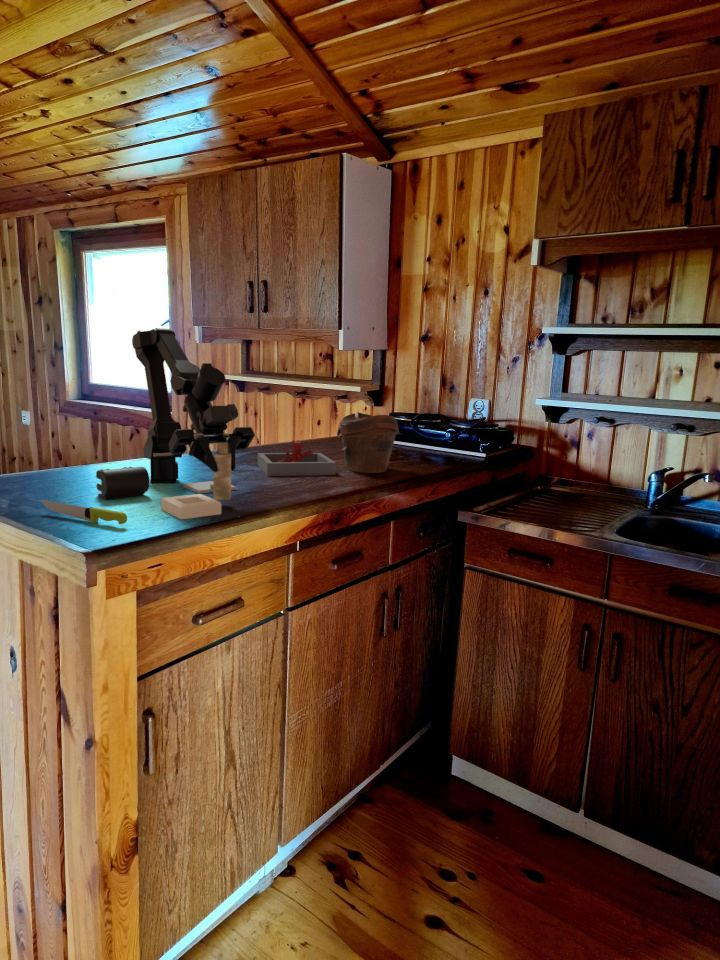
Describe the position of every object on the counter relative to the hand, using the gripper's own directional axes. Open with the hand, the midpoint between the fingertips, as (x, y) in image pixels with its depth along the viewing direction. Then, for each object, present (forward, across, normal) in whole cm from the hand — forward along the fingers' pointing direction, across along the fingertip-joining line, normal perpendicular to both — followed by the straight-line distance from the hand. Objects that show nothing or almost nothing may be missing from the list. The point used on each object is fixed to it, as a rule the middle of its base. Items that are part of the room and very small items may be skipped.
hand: (225, 470), depth 137 cm
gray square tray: (-17, +40, +29) cm, 53 cm away
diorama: (-18, +40, +29) cm, 53 cm away
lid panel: (-8, +6, +20) cm, 23 cm away
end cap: (-9, -15, +21) cm, 27 cm away
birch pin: (+4, 0, +6) cm, 7 cm away
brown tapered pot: (-11, +60, +23) cm, 66 cm away
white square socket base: (+6, -8, +6) cm, 12 cm away
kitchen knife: (+3, -29, +9) cm, 30 cm away
